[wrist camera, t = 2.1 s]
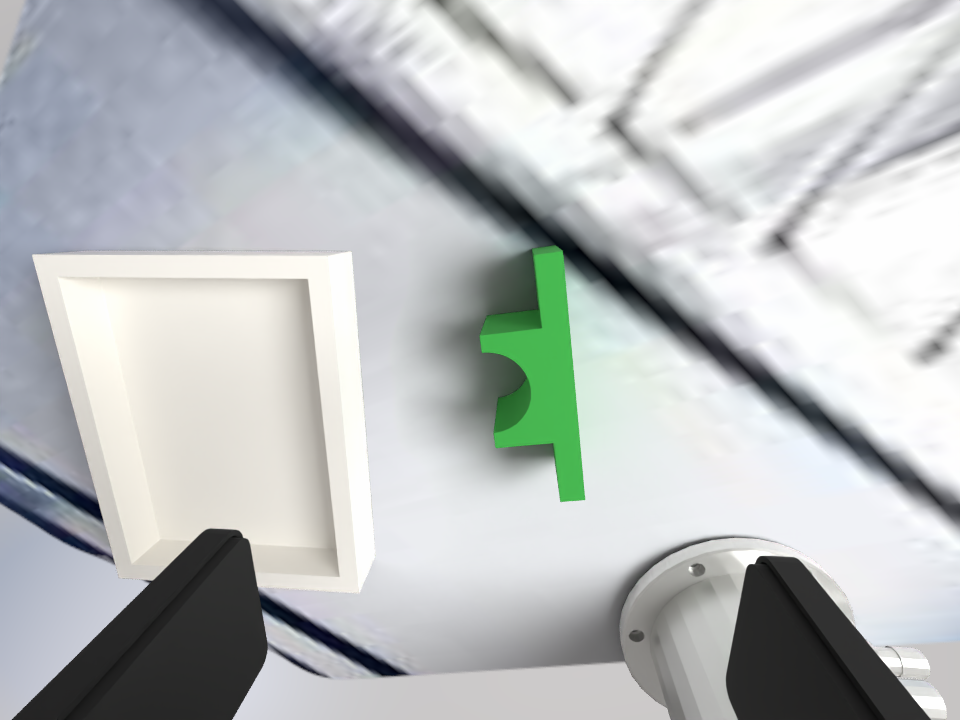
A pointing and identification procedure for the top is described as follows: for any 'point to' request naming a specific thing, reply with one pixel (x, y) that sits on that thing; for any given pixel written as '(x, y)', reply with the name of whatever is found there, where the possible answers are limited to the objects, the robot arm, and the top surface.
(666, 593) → the robot arm
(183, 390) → the tray
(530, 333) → the pipe clamp
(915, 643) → the top surface
